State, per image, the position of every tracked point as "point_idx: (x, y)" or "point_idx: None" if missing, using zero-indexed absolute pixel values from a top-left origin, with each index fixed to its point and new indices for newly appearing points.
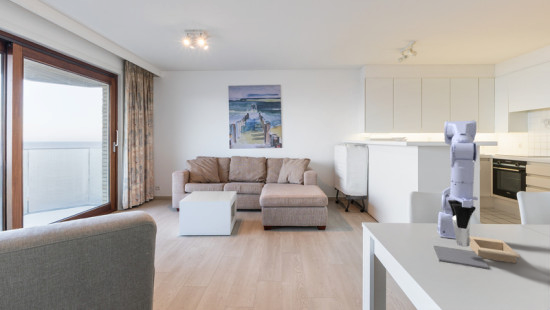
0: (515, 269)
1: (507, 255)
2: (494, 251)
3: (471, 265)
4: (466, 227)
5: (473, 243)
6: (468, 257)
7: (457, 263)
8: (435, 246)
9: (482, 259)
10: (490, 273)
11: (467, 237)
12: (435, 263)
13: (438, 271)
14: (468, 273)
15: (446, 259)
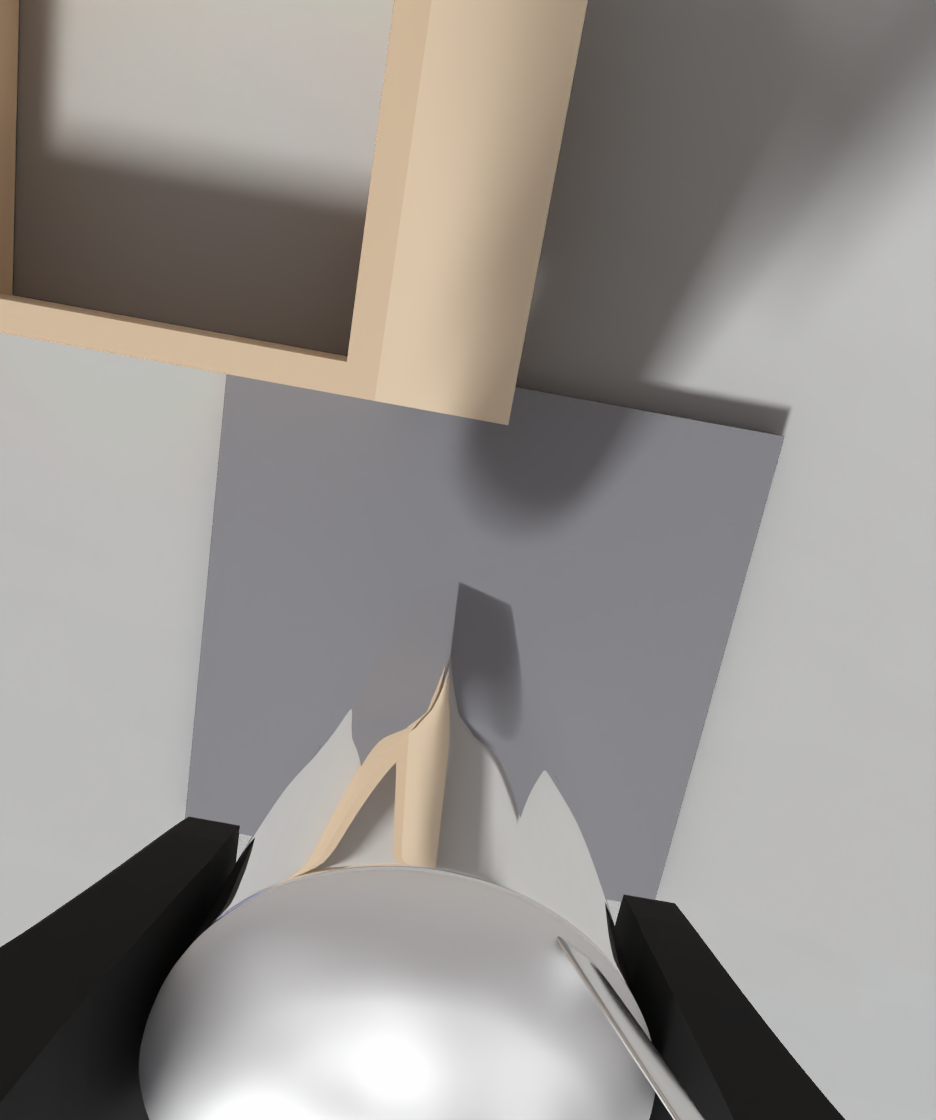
0: (708, 63)
1: (576, 44)
2: (483, 205)
3: (729, 610)
4: (695, 931)
5: (92, 346)
6: (498, 552)
7: (691, 738)
8: (219, 817)
9: (520, 395)
10: (893, 476)
11: (546, 710)
12: (724, 948)
13: (924, 982)
14: (929, 719)
15: (636, 834)
